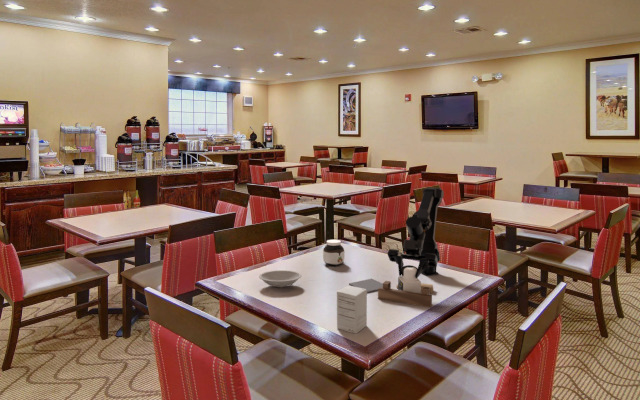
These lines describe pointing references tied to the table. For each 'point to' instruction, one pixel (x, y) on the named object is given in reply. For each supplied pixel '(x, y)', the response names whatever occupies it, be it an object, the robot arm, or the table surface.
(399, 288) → the medicine bottle
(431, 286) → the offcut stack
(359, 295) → the supplement box
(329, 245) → the spread jar
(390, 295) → the walnut rack
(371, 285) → the rubber mat
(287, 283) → the dish
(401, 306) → the table surface
